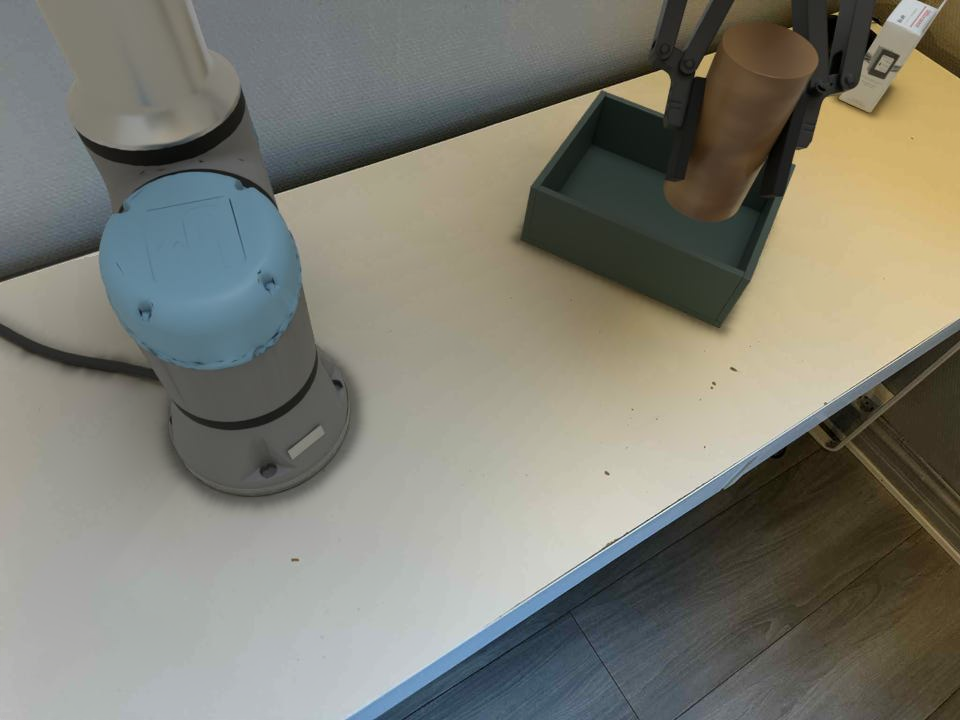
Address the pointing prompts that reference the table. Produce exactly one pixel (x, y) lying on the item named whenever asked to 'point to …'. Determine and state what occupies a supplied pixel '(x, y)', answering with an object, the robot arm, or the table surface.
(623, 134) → the bin
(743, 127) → the cardboard tube
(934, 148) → the table surface
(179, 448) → the robot arm
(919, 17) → the ink box
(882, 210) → the table surface
